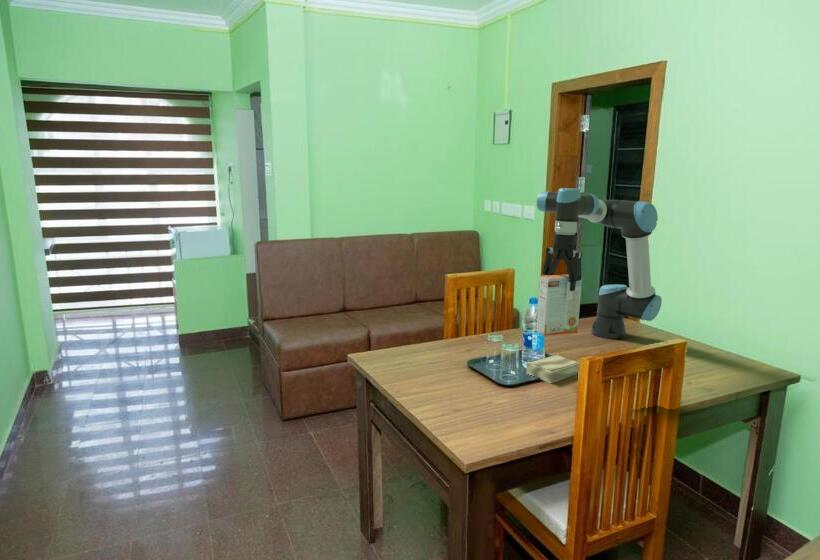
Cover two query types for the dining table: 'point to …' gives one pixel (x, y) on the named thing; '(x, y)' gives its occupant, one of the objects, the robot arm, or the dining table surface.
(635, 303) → the robot arm
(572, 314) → the cracker box
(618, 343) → the dining table surface
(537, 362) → the stack of paper napkins
